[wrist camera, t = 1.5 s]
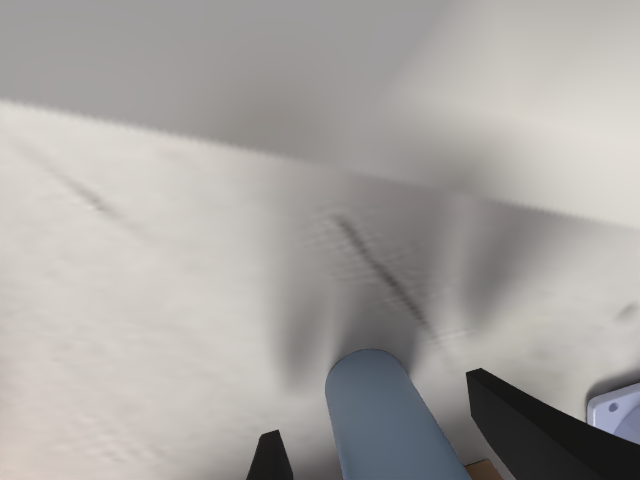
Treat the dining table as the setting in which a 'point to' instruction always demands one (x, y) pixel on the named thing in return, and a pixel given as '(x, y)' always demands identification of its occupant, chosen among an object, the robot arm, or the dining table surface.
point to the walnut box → (483, 471)
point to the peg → (385, 423)
